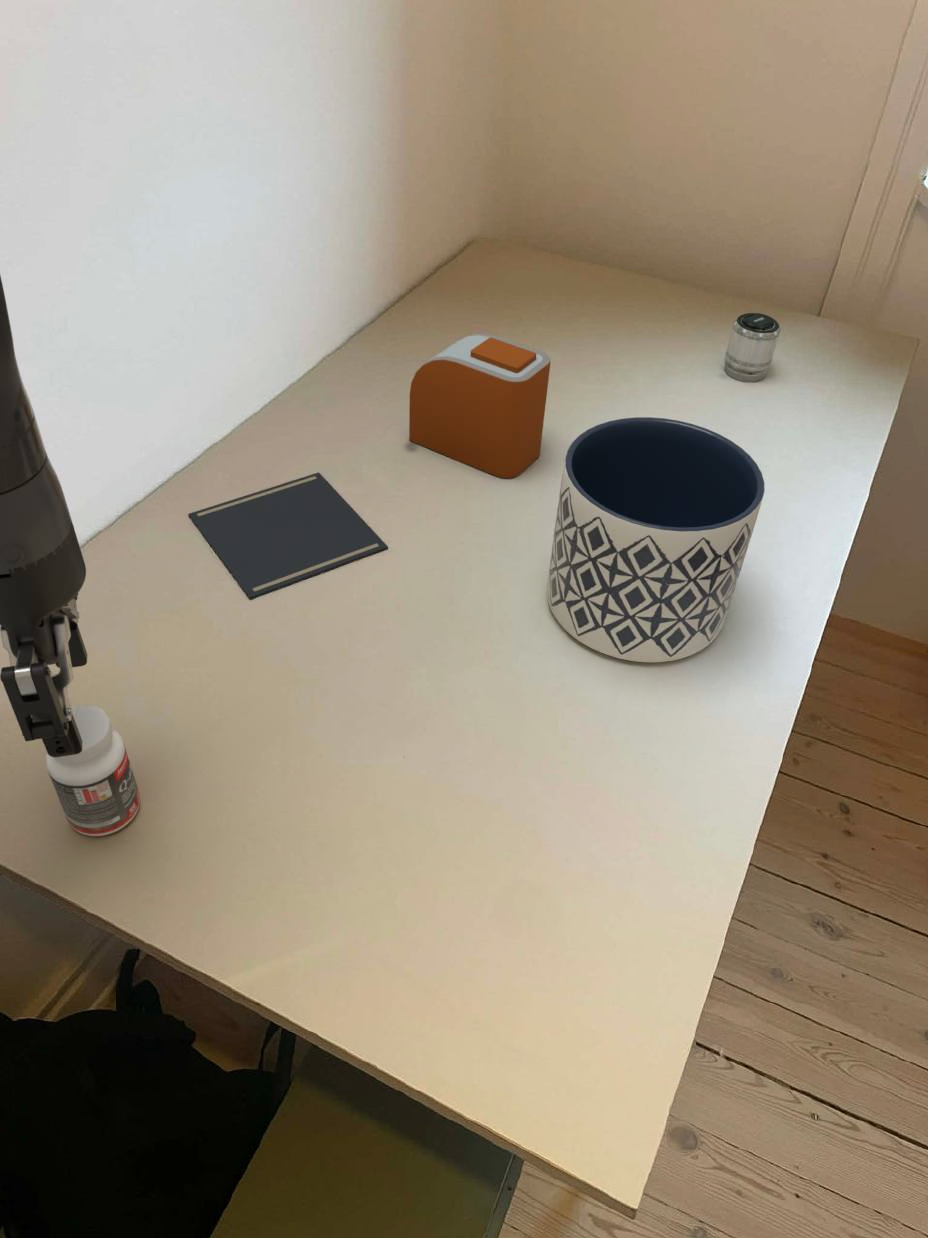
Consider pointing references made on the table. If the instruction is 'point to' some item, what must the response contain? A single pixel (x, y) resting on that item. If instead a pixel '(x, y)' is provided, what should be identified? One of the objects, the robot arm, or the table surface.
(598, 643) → the planter
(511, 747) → the table surface
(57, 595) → the robot arm
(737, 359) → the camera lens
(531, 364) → the alarm clock
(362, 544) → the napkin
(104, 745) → the pill bottle
